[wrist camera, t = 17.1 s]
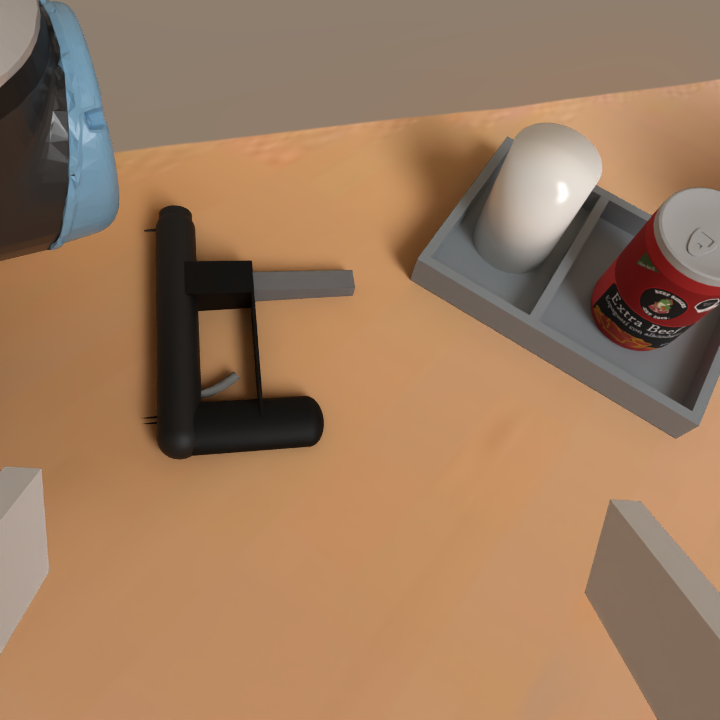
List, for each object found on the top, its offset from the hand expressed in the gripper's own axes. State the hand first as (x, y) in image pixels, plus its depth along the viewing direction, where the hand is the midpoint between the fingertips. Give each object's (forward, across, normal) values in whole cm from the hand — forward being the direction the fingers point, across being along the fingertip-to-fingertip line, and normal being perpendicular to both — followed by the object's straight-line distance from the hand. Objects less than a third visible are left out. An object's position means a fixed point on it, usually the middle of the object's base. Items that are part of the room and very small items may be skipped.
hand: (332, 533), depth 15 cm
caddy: (+39, +22, -2) cm, 45 cm away
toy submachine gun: (+35, -5, -7) cm, 36 cm away
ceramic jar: (+41, +16, +1) cm, 44 cm away
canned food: (+37, +26, -3) cm, 45 cm away
